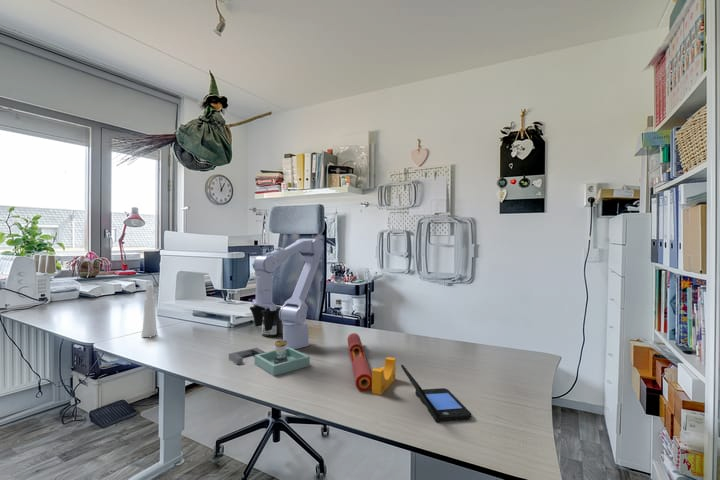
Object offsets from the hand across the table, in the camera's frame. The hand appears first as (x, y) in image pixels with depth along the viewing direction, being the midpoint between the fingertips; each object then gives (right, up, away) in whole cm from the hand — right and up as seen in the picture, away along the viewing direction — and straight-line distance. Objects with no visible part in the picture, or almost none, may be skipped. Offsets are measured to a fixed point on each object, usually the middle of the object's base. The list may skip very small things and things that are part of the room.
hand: (263, 328), depth 123 cm
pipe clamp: (+41, -11, -22) cm, 48 cm away
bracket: (-5, -10, -1) cm, 12 cm away
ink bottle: (-4, -11, +29) cm, 31 cm away
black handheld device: (+53, -12, -35) cm, 65 cm away
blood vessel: (+34, -11, -5) cm, 36 cm away
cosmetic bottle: (-56, -10, +25) cm, 62 cm away
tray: (+8, -11, -7) cm, 15 cm away
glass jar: (+8, -10, -7) cm, 15 cm away
